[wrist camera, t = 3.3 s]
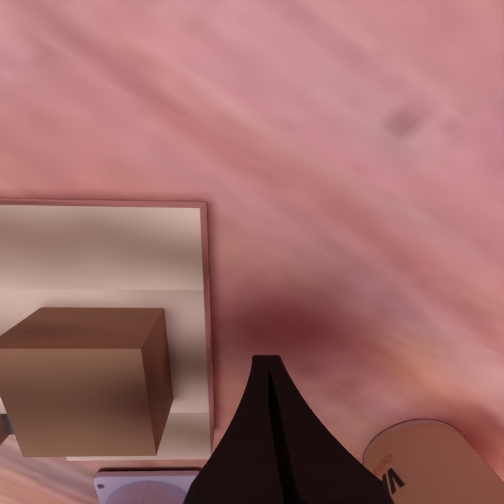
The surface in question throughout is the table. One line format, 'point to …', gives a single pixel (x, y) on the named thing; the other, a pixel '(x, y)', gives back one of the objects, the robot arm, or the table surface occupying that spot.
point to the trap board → (120, 289)
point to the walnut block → (87, 381)
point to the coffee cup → (431, 466)
